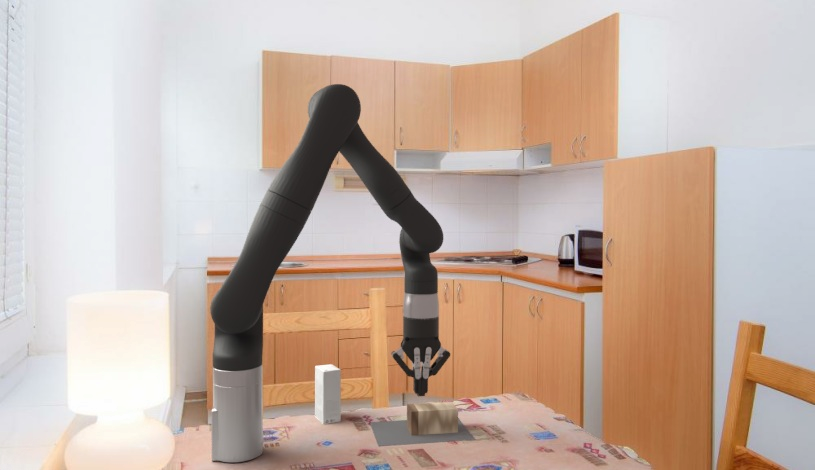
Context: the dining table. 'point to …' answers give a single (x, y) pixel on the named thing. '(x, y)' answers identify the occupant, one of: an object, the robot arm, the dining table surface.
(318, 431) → the dining table surface
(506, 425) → the dining table surface
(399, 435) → the mat
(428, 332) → the robot arm
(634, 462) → the dining table surface
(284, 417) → the dining table surface
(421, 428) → the birch block
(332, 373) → the skincare box
